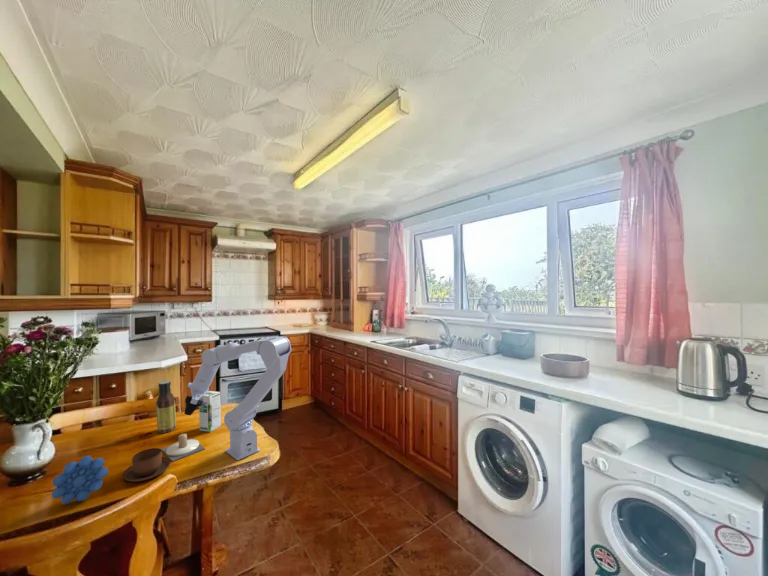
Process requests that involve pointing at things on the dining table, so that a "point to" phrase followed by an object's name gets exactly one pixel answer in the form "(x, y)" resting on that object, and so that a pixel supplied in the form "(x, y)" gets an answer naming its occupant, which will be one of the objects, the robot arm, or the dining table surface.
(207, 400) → the syrup box
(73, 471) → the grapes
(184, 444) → the lid
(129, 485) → the dining table surface
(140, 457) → the cup and saucer
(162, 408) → the sauce bottle
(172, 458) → the plate
